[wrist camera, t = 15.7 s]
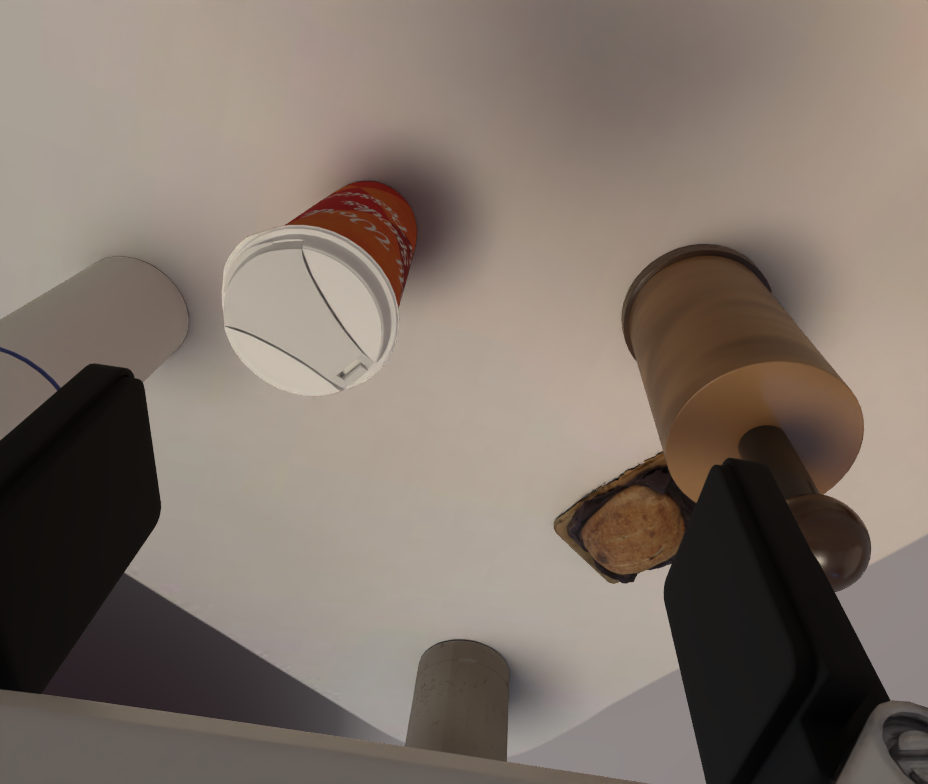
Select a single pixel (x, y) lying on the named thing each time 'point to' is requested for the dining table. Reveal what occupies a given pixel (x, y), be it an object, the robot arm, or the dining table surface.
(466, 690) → the thermos bottle
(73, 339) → the cylindrical container
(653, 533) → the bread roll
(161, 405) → the dining table surface
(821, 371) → the paper towel holder
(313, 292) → the paper cup
